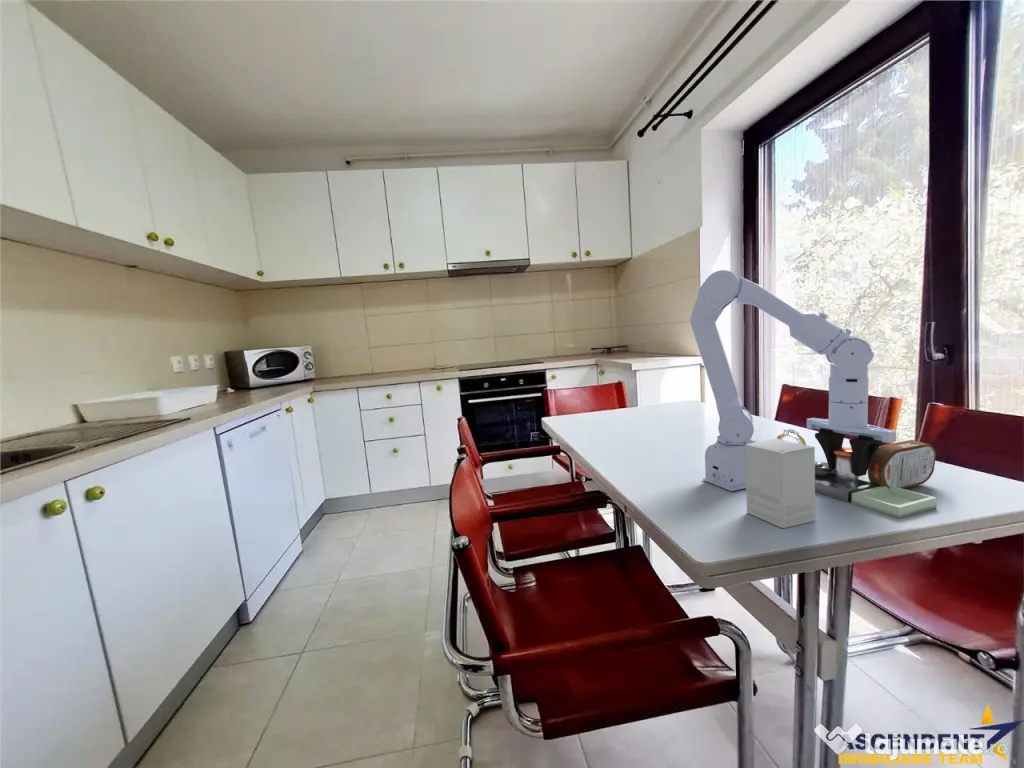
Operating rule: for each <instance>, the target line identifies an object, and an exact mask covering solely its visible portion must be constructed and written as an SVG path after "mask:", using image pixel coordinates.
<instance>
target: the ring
mask: <svg viewBox="0 0 1024 768" xmlns="http://www.w3.org/2000/svg"><path fill="white" fill-rule="evenodd" d="M785 437H791V438H792V439H793V438H794V440H796V442H797V443H798V444H803V445H807V443H806V440H805V439H804V438H803V436H802V435H801V434H800V432H798V431H797V430H795V429H792V428H789V429H783V432H782V434H779V435H777V437H775V439H780V440H783V439H784V438H785Z"/></svg>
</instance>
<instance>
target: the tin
mask: <svg viewBox="0 0 1024 768" xmlns="http://www.w3.org/2000/svg"><path fill="white" fill-rule="evenodd" d="M936 457H937V451H936V449H935V448H934V447H933V446H932V445H931V444H929V443H926V442H921V441H917V440H915V439H911V440H909V439H908V440H905V441H904V440H903V441H899V442H891V443H886V444H882V445H881V446H880V447H879V448H878V450H877V451H876V452H875V454H874V456H873V458H872V459H871V462H870V464H869V467H868V470H867V478H869V481H870V482H872V483H876V484H879V485H880V486H884V487H887V488H888V489H889V488H890V487H889V486H895V487H899V488H902V489H908V488H912V487H917V486H920V485H924V484H925V483H926V482H928V480H929V479H930V478H932V475H933V474H934V471H935V465H936Z"/></svg>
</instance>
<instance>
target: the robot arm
mask: <svg viewBox="0 0 1024 768" xmlns="http://www.w3.org/2000/svg"><path fill="white" fill-rule="evenodd" d="M696 296H697V297H696V300H695V303H694V306H693V309H692V313H691V315H690V318H689V320H690V321H689V322H690V326H691V328H692V331H693V335H694V338H695V341H696V344H697V347H698V350H699V353H700V356H701V360H702V362H703V365H704V369H705V372H706V374H707V378H708V381H709V385H710V388H711V390H712V393H713V396H714V399H715V405H716V410H717V413H718V414H717V415H718V417H719V422H718V426H717V427H718V432H719V435H718V436H717V437H716V441H715V442H714V443H713V444H710V445H708V447H707V448H706V449H705V452H704V453H705V454H704V462H705V463H704V464H705V465H704V467H705V468H704V469H705V477H704V476H703V477H702V480H703V481H705V482H707V483H709V484H712V485H714V486H717V487H720V488H722V489H724V490H727V491H729V492H734V491H738V490H739V491H740V490H743V489H746V459H745V444H750V443H755V442H757V439H756V438H755V437H754V436H753V435H754V430H755V429H754V424H753V419H754V418H753V416H752V414H751V412H750V411H749V410H748V409H746V407H745V406H744V404H743V401H742V398H741V397H740V394H739V390H738V388H737V385H736V382H735V378H734V376H733V373H732V370H731V367H730V364H729V360H728V357H727V353H726V351H725V348H724V344H723V342H722V339H721V335H720V332H719V329H718V326H717V323H716V322H717V321H718V319H719V318H720V316H721V315H722V313H723V311H724V310H725V309H726V307H727V306H729V305H730V304H731V303H732V302H733V301H735V300H736V299H737V300H736V304H740V305H752V306H754V307H756V309H759V310H760V311H762V312H764V313H765V314H767V315H769V316H771V317H773V318H774V319H775V320H778V321H779V322H781V323H783V324H785V325H786V326H788V327H789V336H790V337H791V338H792V339H794V340H795V341H797V342H799V343H801V344H802V345H804V346H806V347H808V348H809V349H811V350H812V351H813V352H815V353H816V354H818V355H820V356H823V355H825V358H826V360H827V361H828V362H829V363H830V364H829V365H830V366H829V367H830V370H829V372H830V373H829V375H830V376H829V377H828V418H817V417H811V418H806V429H809V430H810V429H811V430H813V429H815V430H819V431H818V432H815V433H814V438H815V439H816V440H817V442H818V443H819V445H820V447H821V449H822V451H823V455H825V459H826V463H828V466H829V469H836V455H834V454H833V449H834V448H838V447H843V444H844V440H845V436H846V435H848V436H854V437H855V438H851V439H849V440H848V441H849V445H850V448H852V452H853V459H854V475H855V476H866V475H867V474H868V467H869V464H870V462H871V459H872V458H873V456H874V454H875V452H876V451H877V450H878V448H879V447H881V446H883V445H884V444H883V443H886V444H891V443H897V430H894V429H888V428H884V427H879V426H877V425H873V424H869V423H868V421H869V420H868V419H869V418H868V417H869V416H868V415H869V413H868V412H869V409H868V408H869V376H868V374H869V373H868V372H869V367H868V366H869V364H870V363H871V362H872V361H873V359H874V355H875V353H874V352H873V350H872V348H871V345H870V344H869V343H868V341H866V340H865V339H862V338H858V337H855V336H852V335H851V334H852V333H853V331H852V330H851V329H849V328H845V329H843V328H842V327H841V326H838V324H836V323H833V322H832V321H830V320H829V319H827V318H828V314H826V313H824V312H819V313H817V312H815V311H807V312H806V311H805V312H800V311H799V310H798V309H796V308H795V307H793V306H791V305H790V304H789V303H787V302H785V301H784V300H783V299H781V298H779V297H777V296H776V295H775V294H773V293H771V292H770V291H768V290H767V289H766V288H763V287H762V286H761V285H760V284H758V283H755V282H753V281H751V280H750V279H747V278H745V277H742V276H739V278H738V277H737V275H736V274H735V273H733V272H732V271H729V270H724V269H722V270H717V271H715V272H712V273H711V274H709V275H708V277H706V279H705V280H704V282H703V284H701V286H700V287H699V288H698V292H697V295H696Z"/></svg>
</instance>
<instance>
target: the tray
mask: <svg viewBox="0 0 1024 768" xmlns="http://www.w3.org/2000/svg"><path fill="white" fill-rule="evenodd" d="M889 487H890V488H889V489H888V488H887V487H884V486H879V487H875V488H871V489H867V490H863V491H859V492H855V493H852V502H851V504H854V505H857V506H860V507H863V508H867V509H870V510H873V511H876V512H878V513H882V514H886V515H888V516H890V517H894V518H898V519H901V518H905V517H908V516H913V515H916V514H919V513H923V512H927V511H931V510H934V509H937V506H938V504H937V503H938V502H937V501H938V498H937V497H935V496H932V495H929V494H925V493H921V492H916V491H913V490H909V489H907V488H903V489H902V488H899V487H895V486H889Z"/></svg>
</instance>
